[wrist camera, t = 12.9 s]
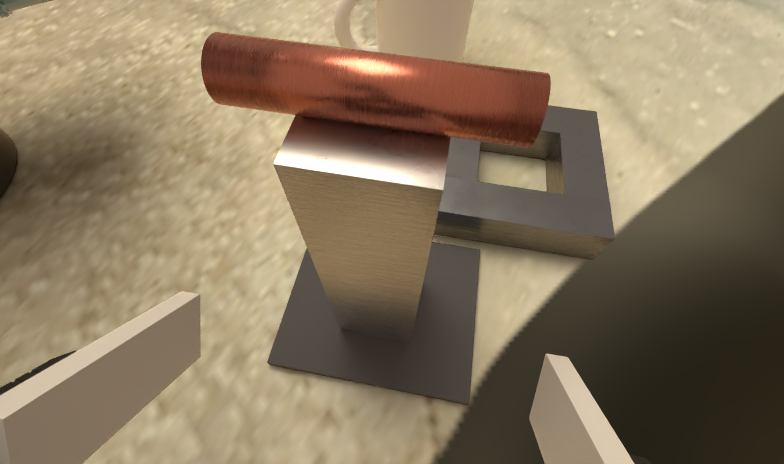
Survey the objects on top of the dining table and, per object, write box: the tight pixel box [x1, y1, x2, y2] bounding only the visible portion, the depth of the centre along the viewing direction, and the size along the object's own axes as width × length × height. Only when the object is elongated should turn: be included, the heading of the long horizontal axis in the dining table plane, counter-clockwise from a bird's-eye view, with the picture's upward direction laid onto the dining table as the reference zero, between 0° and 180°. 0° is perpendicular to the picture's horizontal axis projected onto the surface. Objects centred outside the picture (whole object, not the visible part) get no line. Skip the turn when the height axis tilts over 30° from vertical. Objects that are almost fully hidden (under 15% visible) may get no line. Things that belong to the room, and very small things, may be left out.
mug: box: [334, 0, 474, 62], centre depth 32 cm, size 12×8×10 cm
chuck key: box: [201, 32, 551, 343], centre depth 16 cm, size 8×4×17 cm, turn 79°
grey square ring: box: [434, 105, 615, 260], centre depth 28 cm, size 12×12×3 cm
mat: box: [267, 242, 480, 405], centre depth 24 cm, size 12×10×1 cm
